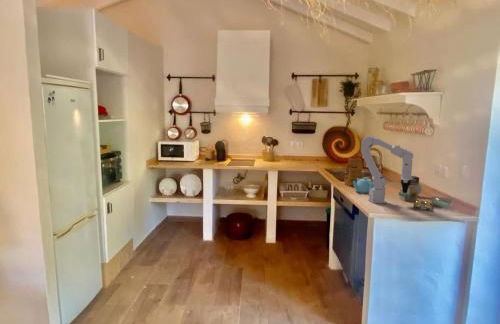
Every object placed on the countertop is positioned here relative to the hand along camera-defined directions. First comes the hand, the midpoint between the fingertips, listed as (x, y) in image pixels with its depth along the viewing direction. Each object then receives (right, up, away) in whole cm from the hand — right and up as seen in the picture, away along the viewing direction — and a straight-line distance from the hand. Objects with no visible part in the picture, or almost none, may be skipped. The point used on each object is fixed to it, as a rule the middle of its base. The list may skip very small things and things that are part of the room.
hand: (404, 192), depth 207 cm
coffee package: (-14, 0, +59) cm, 61 cm away
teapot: (-12, -3, +37) cm, 40 cm away
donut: (+19, -5, +26) cm, 33 cm away
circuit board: (0, -2, 0) cm, 2 cm away
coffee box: (+10, -7, +16) cm, 20 cm away
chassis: (+9, -9, -3) cm, 14 cm away
